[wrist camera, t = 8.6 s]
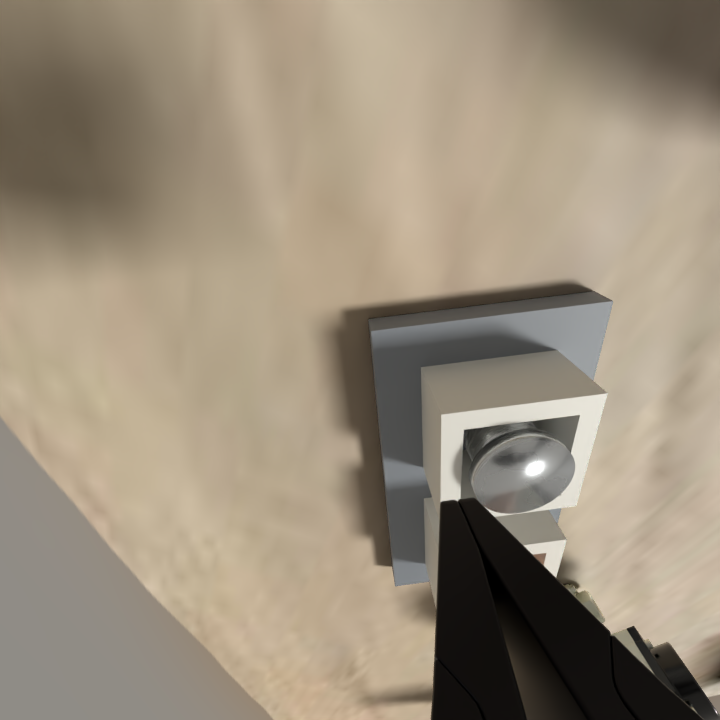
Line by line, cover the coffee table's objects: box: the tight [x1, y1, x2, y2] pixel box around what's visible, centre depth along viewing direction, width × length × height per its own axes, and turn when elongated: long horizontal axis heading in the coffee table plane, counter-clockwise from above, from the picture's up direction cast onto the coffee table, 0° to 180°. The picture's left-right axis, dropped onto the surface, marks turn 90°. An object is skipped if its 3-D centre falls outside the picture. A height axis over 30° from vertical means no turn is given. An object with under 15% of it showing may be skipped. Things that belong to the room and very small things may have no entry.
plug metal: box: [463, 421, 575, 514], centre depth 19 cm, size 5×5×5 cm
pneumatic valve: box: [564, 584, 720, 720], centre depth 29 cm, size 6×12×12 cm, turn 126°
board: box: [368, 291, 613, 607], centre depth 22 cm, size 12×22×6 cm, turn 6°
